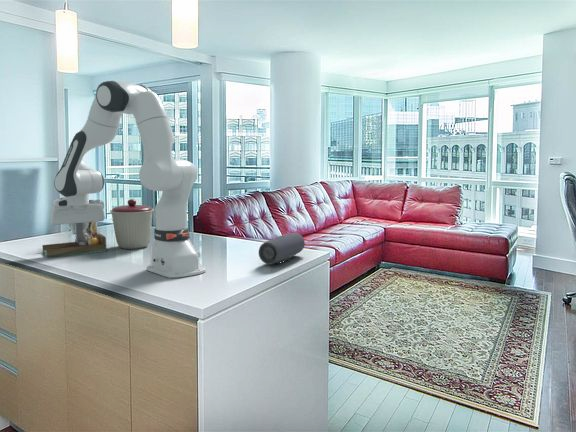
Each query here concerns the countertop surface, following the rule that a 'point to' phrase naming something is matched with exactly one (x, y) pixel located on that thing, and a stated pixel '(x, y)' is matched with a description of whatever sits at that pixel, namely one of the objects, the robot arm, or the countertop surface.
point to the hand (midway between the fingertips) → (79, 233)
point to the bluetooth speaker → (281, 248)
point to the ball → (94, 241)
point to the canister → (132, 225)
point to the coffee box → (91, 229)
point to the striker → (79, 235)
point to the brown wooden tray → (70, 248)
